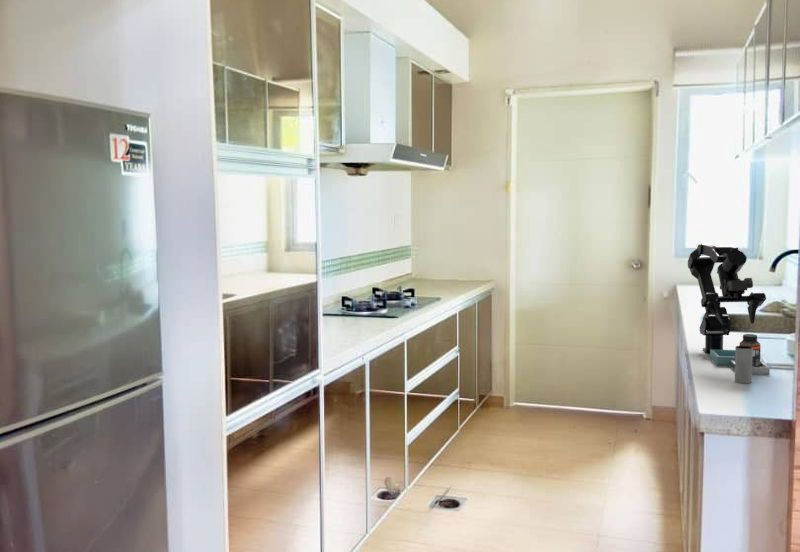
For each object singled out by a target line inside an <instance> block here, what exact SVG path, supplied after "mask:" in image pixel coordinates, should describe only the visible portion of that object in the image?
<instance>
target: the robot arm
mask: <svg viewBox="0 0 800 552" xmlns="http://www.w3.org/2000/svg"><path fill="white" fill-rule="evenodd" d="M746 262H747V255H746V254H745V253H744V252H743V251H741V250H739V247H735V245H732V244H731V245H715V244H714V243H711V242H707V243H704V242H703V243H698V245H697V247H696V249H694V250H693V251H692V252H691V253H690V254H689V256H688V259H687V268H688V269H689V272H690V274H691V276H692V277H694V278H695V279H697V283H698V286H699V290H700V294H701V299H700V305H701V307H702V308H704V309H705V312H704V315H703V317H702V321H701V323H700V325H699V334H701V335H703V336H705V338H704V339H705V344H704V346H705V347H703V348H702V351H703V352H705V354H710V350H724V336H729V335H730V332H731V325H732V322H731V318H730V317H729V314H728V311H727V308H726V306H721V303H746V304H747V305H748V306H746V307H747V313H748V316H749V322H750V324H751V325H754V323H755V319H756V314H757V313H756V312H757V309H758V308H759V307H761V306H762V305H763V303H764V302H765V301H766V300H767V296H766V294H765V292H764V291H751V292H750V293H749V295H744V294H745V293H746V291H748V289H753V286H754V282H753V279H752V277H745V278H744V279H743V280H742V279H741V278H739V274H738V273H739V272H740V271H741V270H742V268H743V266H745V264H746ZM718 263H719V266H718V267H717V269H716V270H717V271H716V274H717V275H718V279H719V290H721V296H719V293H718V292H716V288H715V285H714V281H713V277H712V272H713V270H714V266H715V264H718Z"/></svg>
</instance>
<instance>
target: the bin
mask: <svg viewBox="0 0 800 552" xmlns="http://www.w3.org/2000/svg"><path fill="white" fill-rule="evenodd" d="M709 358H710V360H711V361H712V362H713V363H714V364H715V365H716V366H717V367H730V360H735V349H723V350H710V353H709Z"/></svg>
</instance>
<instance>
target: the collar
mask: <svg viewBox="0 0 800 552" xmlns="http://www.w3.org/2000/svg"><path fill="white" fill-rule="evenodd" d="M729 367H730V368H731V369H732V370H733V372H735V360H730V366H729ZM770 369H771V368H770V366H769V365H767V364H766V363H765V362H763V361H762V360H760V367H752V375H770V374H771V373H770Z"/></svg>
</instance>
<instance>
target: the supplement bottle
mask: <svg viewBox="0 0 800 552" xmlns="http://www.w3.org/2000/svg"><path fill="white" fill-rule="evenodd" d="M738 346H750V347H752V348H753V352H752V367H760V361H761V343H760V342H759V341H758V335H757V334H753V333H744V334H742V340H741V341H740V342H739V344H738Z"/></svg>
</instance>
